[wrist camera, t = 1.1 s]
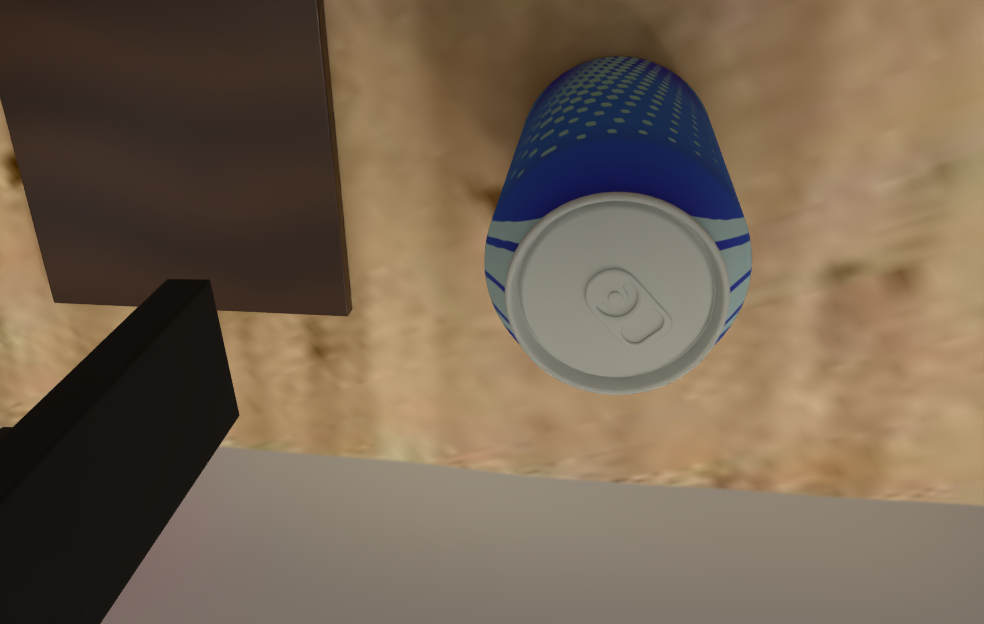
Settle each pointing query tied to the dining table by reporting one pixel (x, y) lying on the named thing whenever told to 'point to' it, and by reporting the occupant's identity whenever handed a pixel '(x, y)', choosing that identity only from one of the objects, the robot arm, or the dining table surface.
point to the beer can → (618, 231)
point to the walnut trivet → (178, 149)
